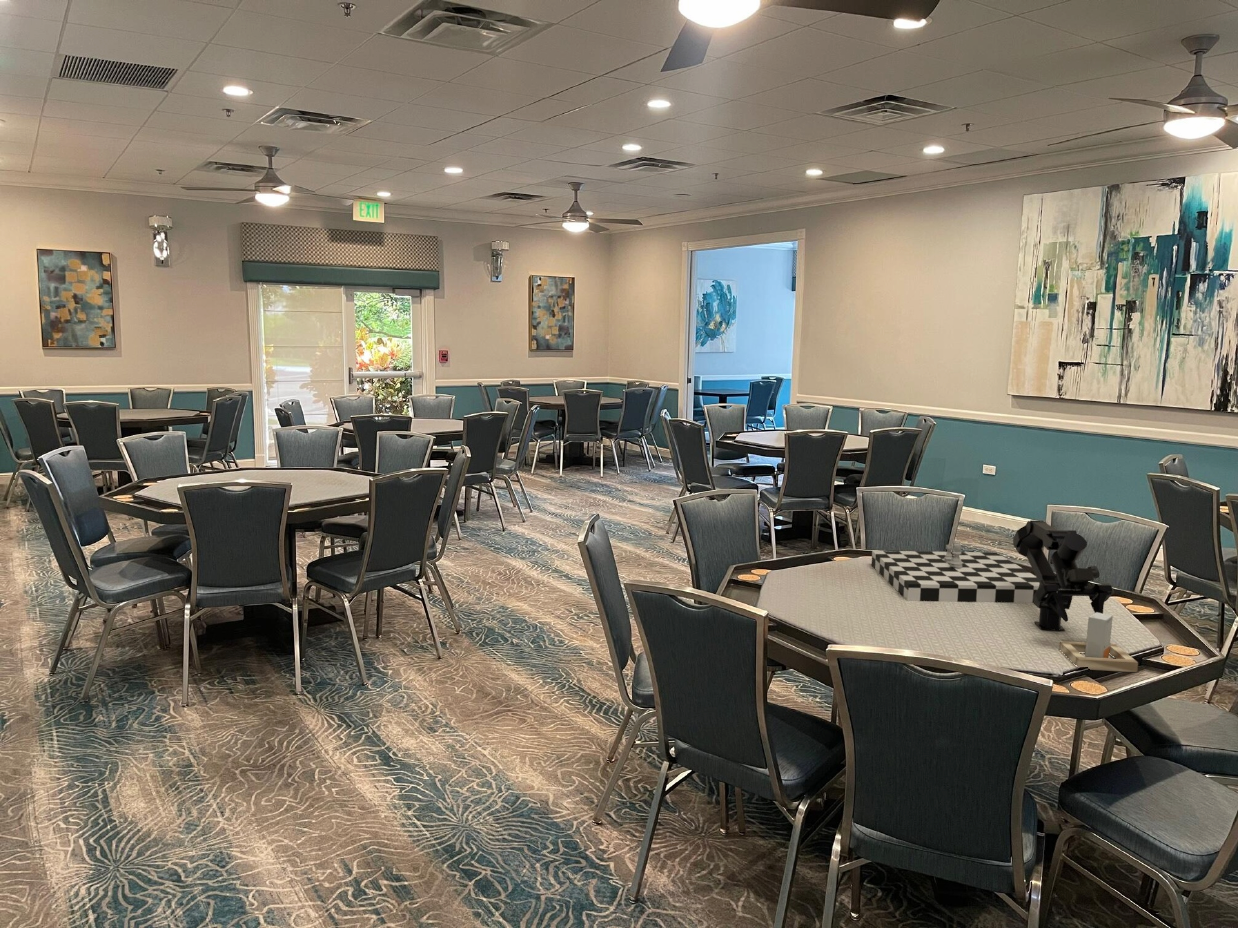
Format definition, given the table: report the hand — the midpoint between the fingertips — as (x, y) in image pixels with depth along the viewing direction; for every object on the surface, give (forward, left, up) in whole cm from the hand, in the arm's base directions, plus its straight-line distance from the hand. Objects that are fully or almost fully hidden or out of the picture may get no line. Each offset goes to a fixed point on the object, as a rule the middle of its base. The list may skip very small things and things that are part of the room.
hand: (1084, 621), depth 241 cm
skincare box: (+7, +1, -8) cm, 11 cm away
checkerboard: (-65, -18, -9) cm, 68 cm away
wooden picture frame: (+8, +1, -8) cm, 11 cm away
